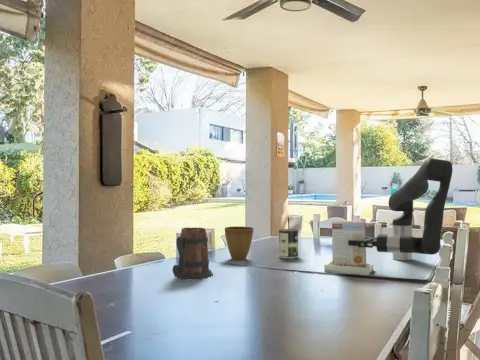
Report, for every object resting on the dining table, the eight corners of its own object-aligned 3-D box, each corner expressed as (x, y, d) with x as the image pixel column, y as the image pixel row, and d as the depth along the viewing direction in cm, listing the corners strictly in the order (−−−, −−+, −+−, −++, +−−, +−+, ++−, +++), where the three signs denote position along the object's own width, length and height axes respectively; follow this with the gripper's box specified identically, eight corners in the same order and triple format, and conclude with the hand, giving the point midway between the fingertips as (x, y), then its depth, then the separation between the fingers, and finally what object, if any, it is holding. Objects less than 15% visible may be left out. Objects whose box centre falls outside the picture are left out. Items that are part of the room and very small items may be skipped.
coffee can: (299, 255, 246) (299, 229, 246) (297, 258, 236) (297, 231, 236) (279, 255, 248) (279, 228, 248) (277, 258, 238) (277, 230, 238)
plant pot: (219, 260, 232) (219, 228, 232) (231, 256, 246) (231, 226, 246) (247, 262, 227) (247, 229, 227) (257, 257, 240) (257, 226, 240)
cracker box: (366, 268, 203) (366, 220, 203) (365, 271, 197) (364, 222, 197) (334, 266, 208) (333, 220, 208) (332, 269, 202) (331, 221, 202)
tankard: (186, 270, 207) (186, 225, 207) (220, 273, 200) (220, 227, 200) (156, 280, 186) (156, 231, 186) (193, 284, 179) (193, 232, 179)
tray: (330, 267, 211) (330, 260, 211) (373, 270, 203) (373, 263, 203) (324, 271, 202) (324, 264, 202) (369, 275, 193) (369, 268, 193)
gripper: (391, 232, 202) (353, 231, 209) (386, 236, 189) (346, 234, 196) (391, 250, 202) (354, 248, 209) (386, 254, 189) (346, 252, 196)
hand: (350, 241), depth 202 cm, fingers open, 8 cm apart
